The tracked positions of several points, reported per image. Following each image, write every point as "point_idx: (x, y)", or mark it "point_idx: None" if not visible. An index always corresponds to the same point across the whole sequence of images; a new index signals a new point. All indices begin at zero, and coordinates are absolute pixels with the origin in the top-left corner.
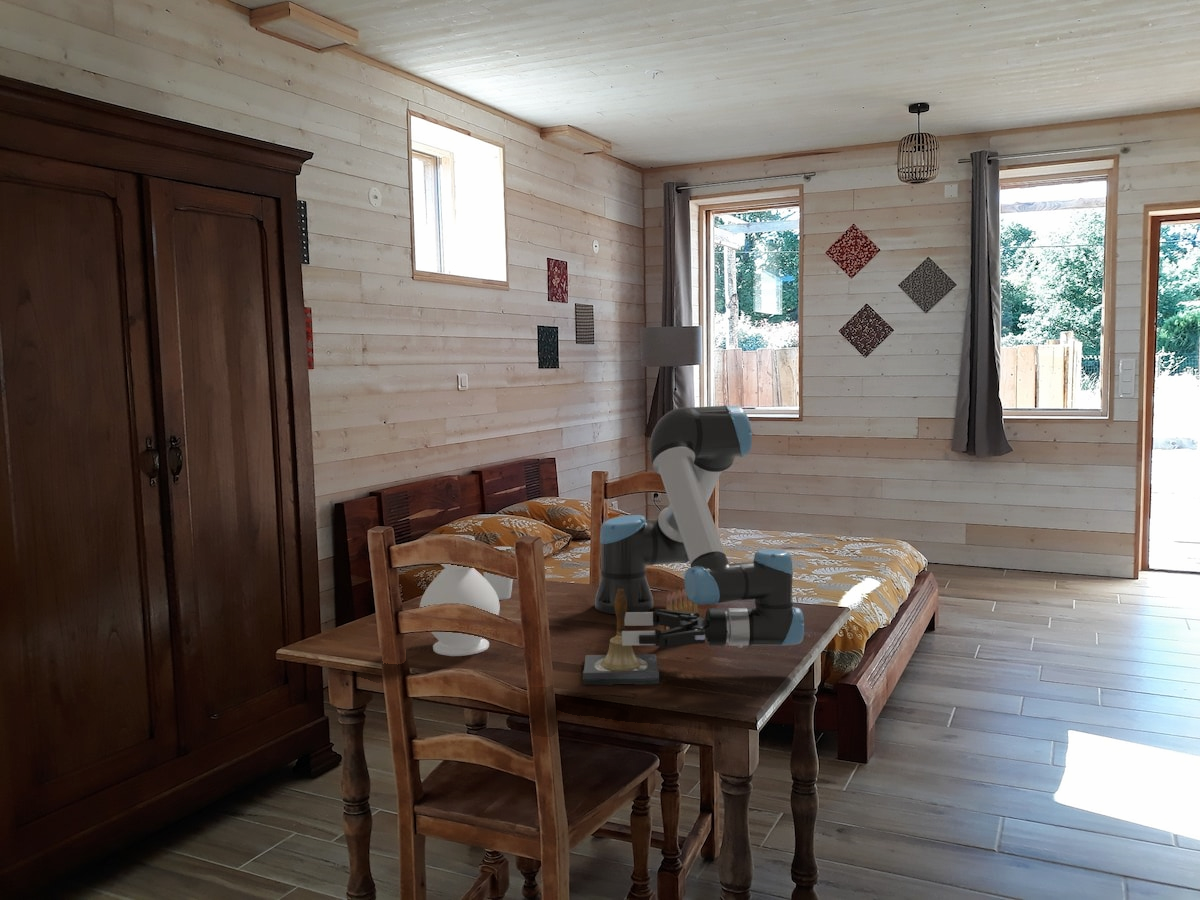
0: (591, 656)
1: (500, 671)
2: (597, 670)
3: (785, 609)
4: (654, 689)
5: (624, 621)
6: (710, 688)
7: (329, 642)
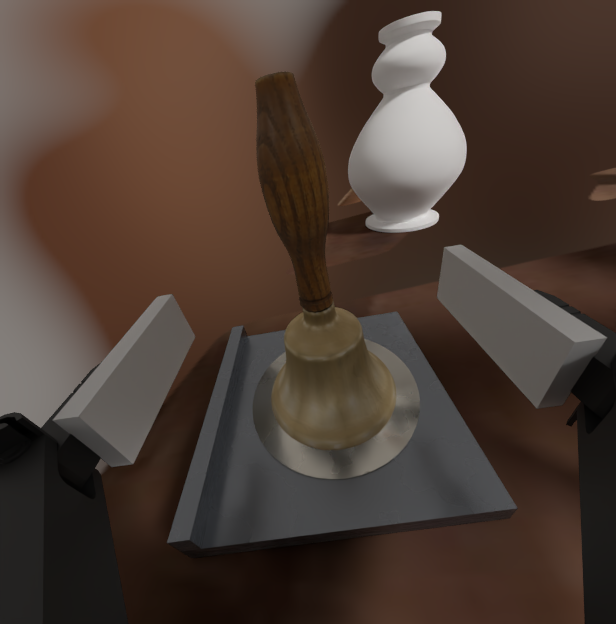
0: (390, 321)
1: None
2: None
3: None
4: (146, 538)
5: (444, 286)
6: None
7: None
